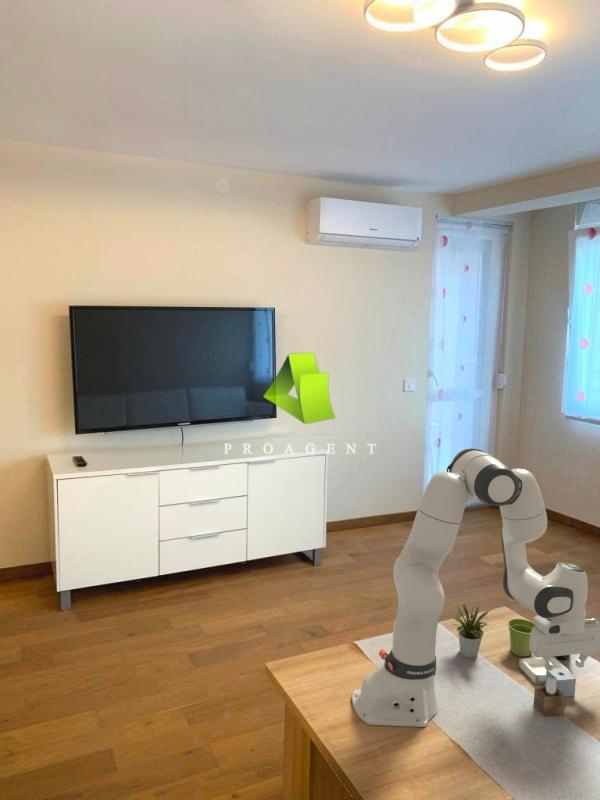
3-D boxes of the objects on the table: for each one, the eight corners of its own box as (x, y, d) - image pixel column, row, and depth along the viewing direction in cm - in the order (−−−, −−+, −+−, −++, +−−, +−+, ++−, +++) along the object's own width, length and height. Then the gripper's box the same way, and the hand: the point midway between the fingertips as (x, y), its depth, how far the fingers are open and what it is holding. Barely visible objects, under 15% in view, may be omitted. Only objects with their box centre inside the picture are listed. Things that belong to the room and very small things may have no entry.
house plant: (433, 654, 193) (436, 603, 191) (450, 636, 205) (453, 588, 203) (479, 670, 185) (483, 617, 183) (494, 650, 197) (498, 600, 195)
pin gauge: (547, 712, 166) (550, 680, 165) (542, 707, 169) (545, 675, 167) (555, 712, 167) (558, 680, 166) (550, 706, 169) (553, 675, 168)
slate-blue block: (556, 697, 173) (557, 680, 173) (545, 685, 179) (546, 669, 178) (574, 695, 174) (576, 678, 174) (562, 684, 180) (564, 667, 179)
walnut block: (544, 716, 165) (546, 699, 164) (533, 704, 170) (535, 686, 169) (564, 715, 166) (565, 697, 165) (552, 702, 171) (553, 685, 170)
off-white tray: (535, 683, 179) (536, 675, 179) (518, 666, 188) (519, 658, 188) (570, 680, 182) (571, 672, 181) (552, 663, 190) (553, 655, 190)
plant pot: (540, 650, 198) (542, 623, 197) (533, 663, 190) (535, 636, 189) (509, 641, 203) (511, 615, 202) (501, 653, 195) (504, 627, 194)
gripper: (594, 612, 178) (590, 658, 180) (527, 618, 175) (524, 664, 177) (609, 623, 172) (605, 670, 174) (540, 629, 169) (536, 677, 171)
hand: (564, 667), depth 175 cm, fingers open, 8 cm apart
